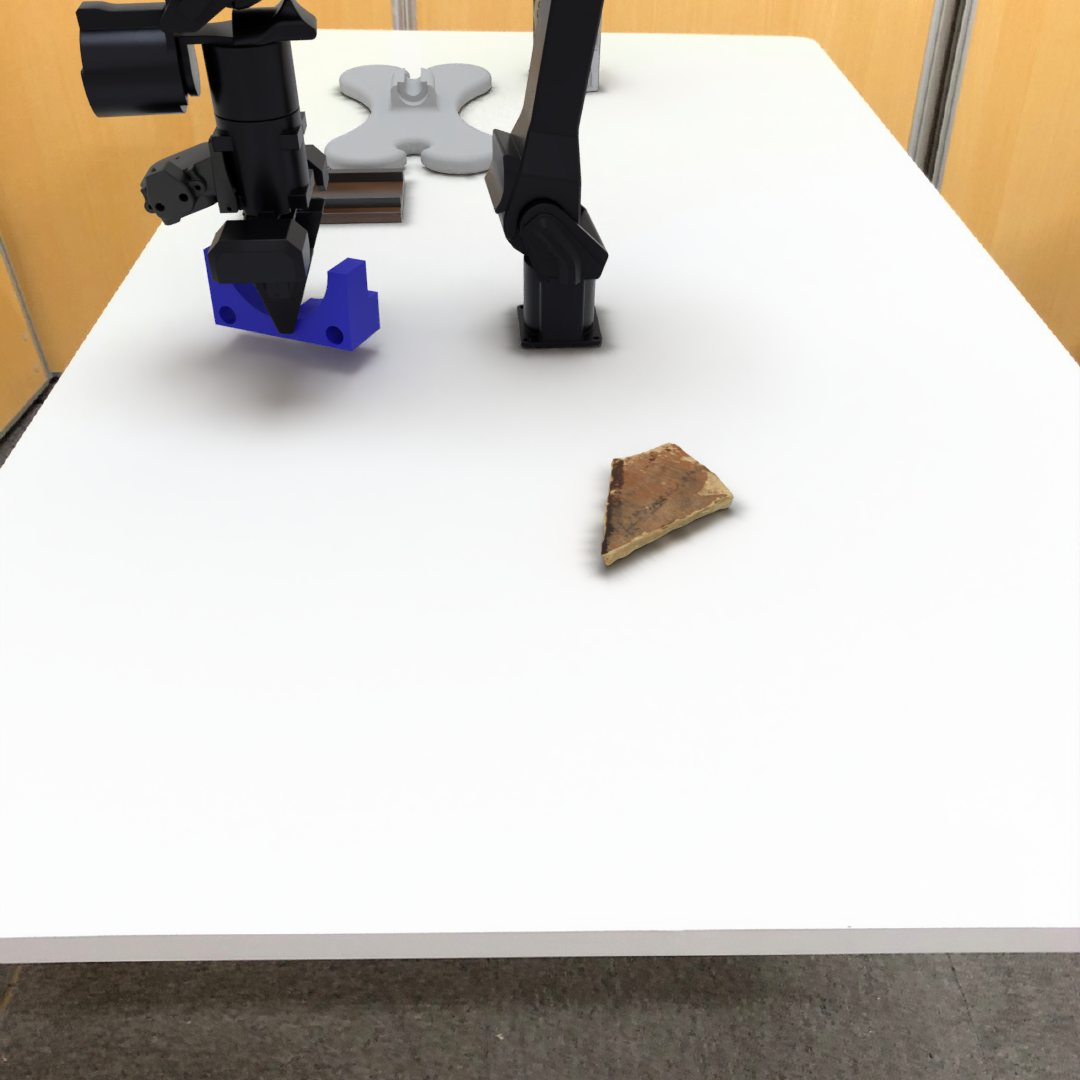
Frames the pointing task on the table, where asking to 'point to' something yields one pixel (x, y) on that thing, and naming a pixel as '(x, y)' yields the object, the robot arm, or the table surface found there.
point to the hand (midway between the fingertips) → (290, 316)
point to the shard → (656, 498)
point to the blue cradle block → (306, 308)
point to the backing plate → (362, 195)
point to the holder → (414, 119)
